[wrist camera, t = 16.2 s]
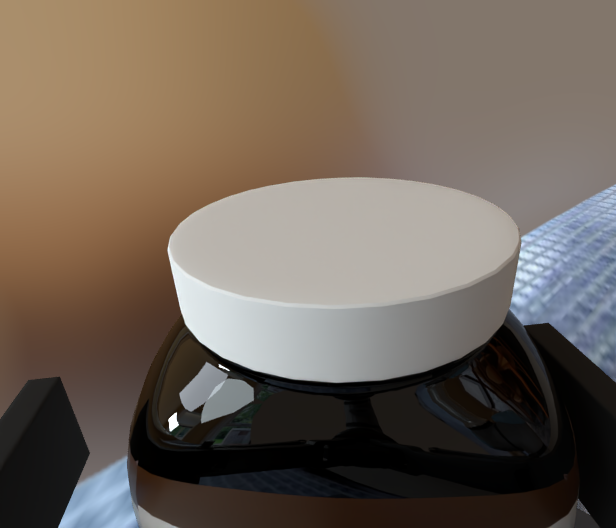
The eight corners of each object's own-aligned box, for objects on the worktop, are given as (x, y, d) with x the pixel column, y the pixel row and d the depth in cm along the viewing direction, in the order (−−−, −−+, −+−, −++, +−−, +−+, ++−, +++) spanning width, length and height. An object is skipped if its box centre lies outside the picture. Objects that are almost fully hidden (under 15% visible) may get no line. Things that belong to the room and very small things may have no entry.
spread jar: (474, 461, 17) (523, 166, 12) (675, 1086, 7) (1740, 904, 1) (181, 452, 18) (109, 181, 13) (-36, 972, 8) (-796, 653, 3)
